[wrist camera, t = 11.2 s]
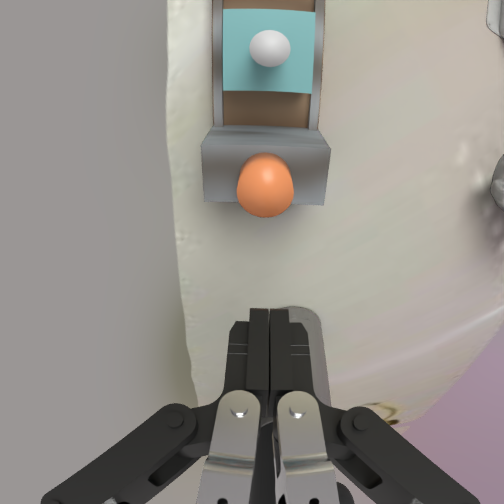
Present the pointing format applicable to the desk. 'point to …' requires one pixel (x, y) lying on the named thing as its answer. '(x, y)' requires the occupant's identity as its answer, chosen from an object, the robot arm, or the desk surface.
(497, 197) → the coffee mug
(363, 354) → the desk surface
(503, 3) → the emergency button
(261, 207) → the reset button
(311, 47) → the carriage
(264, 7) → the rail
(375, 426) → the robot arm
